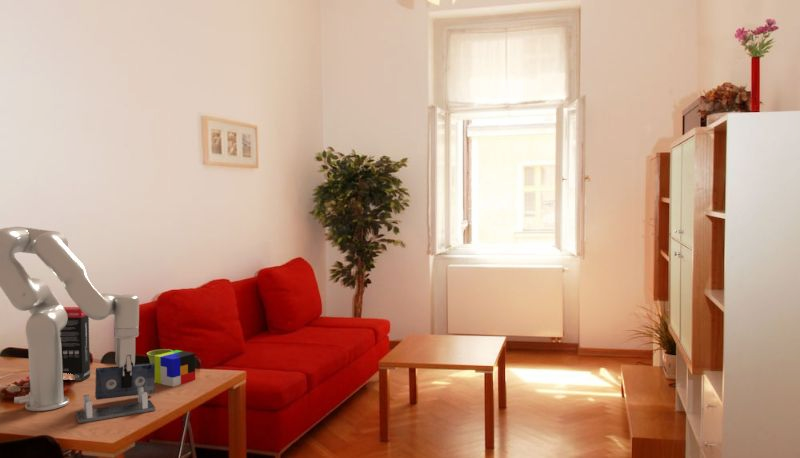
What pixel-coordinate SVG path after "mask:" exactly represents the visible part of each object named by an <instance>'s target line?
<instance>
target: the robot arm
mask: <svg viewBox="0 0 800 458" xmlns="http://www.w3.org/2000/svg"><path fill="white" fill-rule="evenodd" d="M17 253H25V254H32V255H33V254H34V255H36V256H37V257H38V258H39V259H40V260H41V261H42V262H43V263H44V265H45V266H46V267H48V269H49V270H50V271H51V272H52V273H53V274H54V275H55V277H56V278H57V279H59V281H60V282H61V284H62V286H63V288H64V289H65V291H66V293H68V296H69V297H70V299H71V300H72V301H73V302H74V304H75V305H76V307H79V308H80V309H81V310H82V311H83V312H84V313H85V314H86V315H87V316H88V317H89V319H92V320H93V321H102V320H105V319H107V318H108V317H109V316H113V315H114V328H113V329H114V336H113V337H114V338H116V341H115V345H116V346H115V360H114V361H115V362H114V363H115V364H116V366H118V367H119V368H121V367H122V376H121V388H130V387H132V367H134V365H136V364H135V363H136V338H138V337H139V334H140V332H139V325H140V297H139V296H137V295H136V294H114V293H100V292H98V289H96V288H95V287H94V285H92V283H91V282H90V279H89V278H88V275H87V270H86V269H87V268H86V266H85V264H84V263H83V262H82V261H81V260H80V259H79V257H77V256H76V254H75V253H74V252H73V251H72V249H70V248H69V241H68V239H67V237H66V235H65V234H63V233H61V232H59V231H55V230H48V229H47V230H46V229H38V228H32V227H24V226H12V227H3V228H0V288H1V290H2V292H3V293H4V294H5V296H6V297H7V299H8V300H9V302H10V304H12V307H14V308H15V309H16V310H18V311H22V312H23V311H29V313H30V314H31V315H30V316H29V317H28V319H27V321H26V325H25V335H26V340H27V347H28V348H27V349H28V367H29V368H28V369H29V392H28V394H25V396H14V399H13V403H14V404H18V405H21V404H25V408H24V409H25V410H27V411H30V412H43V411H51V410H56V409H59V408H62V407H64V406H67V405H68V404H69V403H70V399H69V397H67V396H64V381H63V369H62V347H61V340H60V331H61V330H62V329H63V328H64V327H65V326H66V324H67V320H68V316H67V313H66V311H65V309H64V308H63V307H64V306H63V304H62V303H61V302H60V299H59V298H58V297H57V296H56V294H55V293H54V291H53V290H52V289H51V287H50V286H49V285H48V284H47V283H46V282H45V281H44V280H42V279H40V278H35V277H33V278H31V276H30V275H29V274H28V272H27V271H26V269H25V267H24V266H23V264H21V262H19V260H17V258H16V255H15V254H17ZM124 366H126V367H124ZM125 369H126V370H125Z"/></svg>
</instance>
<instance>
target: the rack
mask: <svg viewBox="0 0 800 458" xmlns="http://www.w3.org/2000/svg"><path fill="white" fill-rule="evenodd" d="M137 391H138V395H137V401H135V402H129V403H122V404H117V405H110V406H105V407H98V408H93V400H92V399H91V400H90V398H91V397H90V396H91V395H90V394H84V395H82V396H83V399H82V400H83V410H80V411H76V412H75V416H76V419H77V422H78V424H85V423H90V422H96V421H101V420H103V421H104V420H107V419H108V420H109V419H114V418H119V417H126V416H132V415H137V414H143V413H148V412H149V411H150V412H154V411H156V406H155V404H153V402H152V401H151V400H150V399H148V398H149V397H148V395H149V394H147V392H144V388H143V386H142V387H137Z"/></svg>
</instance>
